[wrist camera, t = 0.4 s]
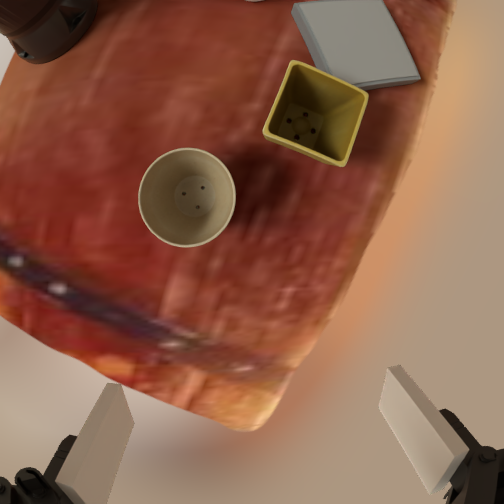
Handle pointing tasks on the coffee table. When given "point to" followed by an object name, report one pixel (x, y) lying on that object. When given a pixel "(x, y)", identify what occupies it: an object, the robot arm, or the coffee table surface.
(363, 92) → the flower pot
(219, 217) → the round planter pot
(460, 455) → the robot arm
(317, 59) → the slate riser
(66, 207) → the coffee table surface
